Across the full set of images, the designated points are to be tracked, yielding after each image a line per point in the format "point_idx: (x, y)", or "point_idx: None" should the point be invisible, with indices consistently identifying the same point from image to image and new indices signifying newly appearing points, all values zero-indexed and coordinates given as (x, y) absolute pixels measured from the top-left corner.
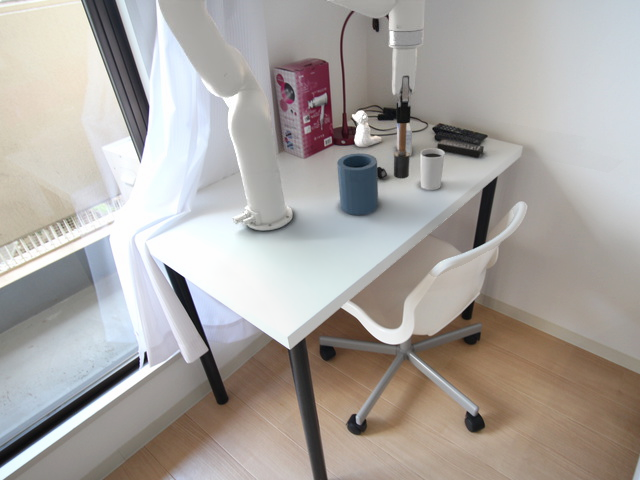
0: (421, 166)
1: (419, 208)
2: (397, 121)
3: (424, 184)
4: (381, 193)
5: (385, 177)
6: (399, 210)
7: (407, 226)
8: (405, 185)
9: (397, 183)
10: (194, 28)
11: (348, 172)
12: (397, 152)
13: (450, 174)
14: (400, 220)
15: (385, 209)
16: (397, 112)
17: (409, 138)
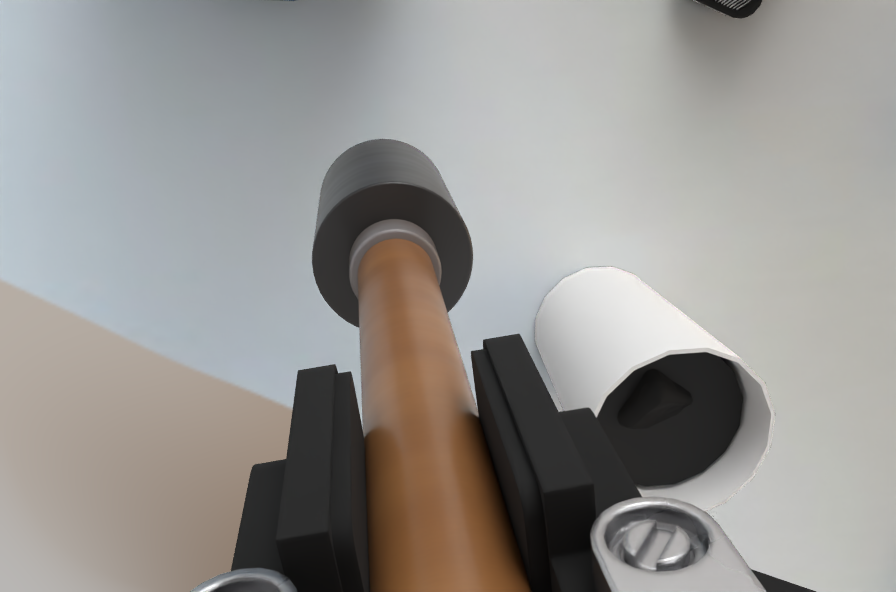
0: (617, 322)
1: (294, 283)
2: (299, 387)
3: (554, 304)
4: (473, 5)
5: (711, 8)
6: (248, 161)
7: (59, 231)
8: (596, 167)
9: (626, 108)
10: None
11: None
12: (427, 211)
13: None
14: (122, 181)
15: (246, 63)
16: (288, 472)
17: None
